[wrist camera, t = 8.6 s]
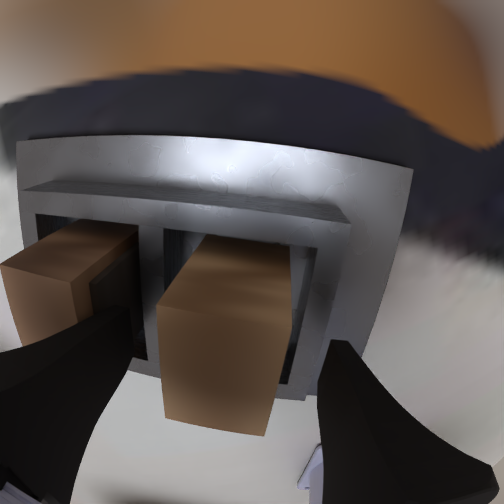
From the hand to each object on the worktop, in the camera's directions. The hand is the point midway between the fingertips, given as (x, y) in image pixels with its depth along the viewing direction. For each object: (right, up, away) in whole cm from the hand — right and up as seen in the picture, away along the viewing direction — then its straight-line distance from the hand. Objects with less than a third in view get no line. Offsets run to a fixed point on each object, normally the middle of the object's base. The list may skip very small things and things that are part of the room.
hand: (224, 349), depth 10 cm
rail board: (-3, +2, +5) cm, 6 cm away
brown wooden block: (-6, +3, +4) cm, 8 cm away
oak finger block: (0, +2, +4) cm, 4 cm away
